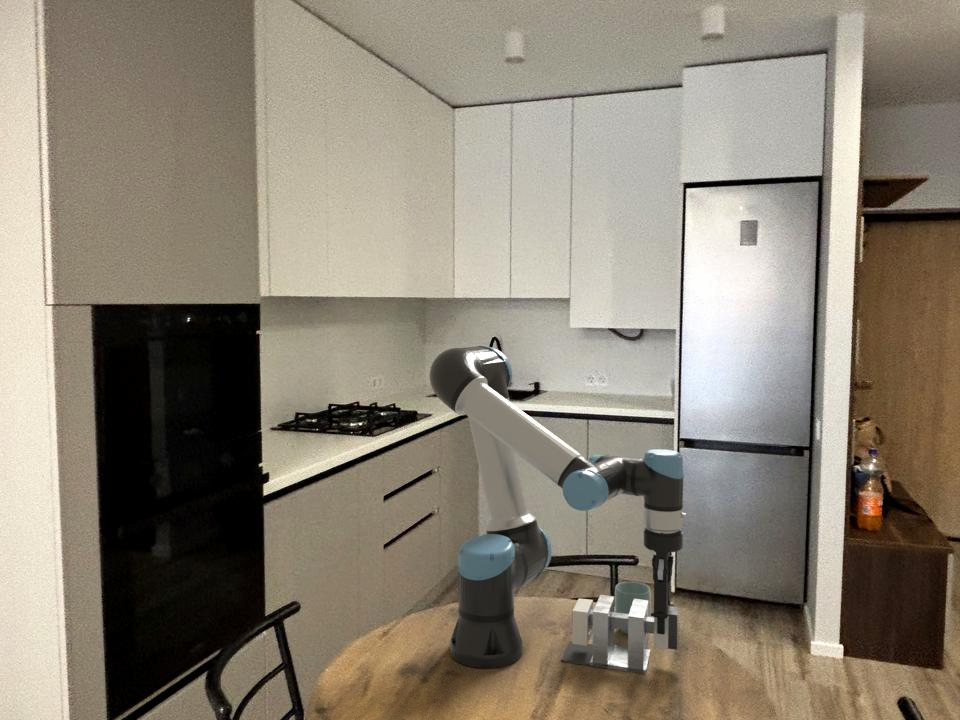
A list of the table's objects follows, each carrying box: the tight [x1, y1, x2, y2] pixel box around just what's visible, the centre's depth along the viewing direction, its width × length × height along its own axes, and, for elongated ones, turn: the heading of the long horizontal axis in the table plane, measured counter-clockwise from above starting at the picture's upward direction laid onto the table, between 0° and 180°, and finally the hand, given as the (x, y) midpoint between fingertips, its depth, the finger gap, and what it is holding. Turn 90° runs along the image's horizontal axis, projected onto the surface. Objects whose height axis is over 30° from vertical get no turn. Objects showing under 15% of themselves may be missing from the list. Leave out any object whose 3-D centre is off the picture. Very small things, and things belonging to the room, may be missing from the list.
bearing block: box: [589, 594, 651, 675], centre depth 149 cm, size 11×9×11 cm
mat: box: [560, 641, 593, 666], centre depth 152 cm, size 6×9×1 cm, turn 162°
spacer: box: [572, 598, 594, 646], centre depth 152 cm, size 3×7×7 cm, turn 162°
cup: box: [614, 581, 652, 635], centre depth 163 cm, size 8×8×10 cm
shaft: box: [571, 606, 679, 651], centre depth 149 cm, size 21×4×7 cm, turn 72°
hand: (661, 642), depth 147 cm, fingers closed on shaft, 4 cm apart
